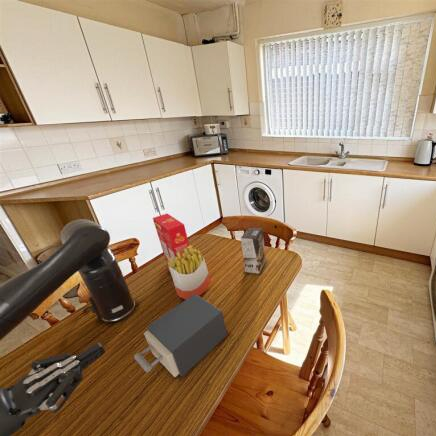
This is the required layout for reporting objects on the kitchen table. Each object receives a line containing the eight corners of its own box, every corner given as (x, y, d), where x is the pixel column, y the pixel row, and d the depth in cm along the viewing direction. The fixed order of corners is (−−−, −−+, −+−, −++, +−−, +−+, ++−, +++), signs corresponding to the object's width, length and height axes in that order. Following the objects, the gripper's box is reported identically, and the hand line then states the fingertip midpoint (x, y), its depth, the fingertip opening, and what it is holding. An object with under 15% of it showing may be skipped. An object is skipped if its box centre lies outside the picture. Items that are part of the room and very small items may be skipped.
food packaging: (198, 281, 92) (184, 224, 82) (185, 288, 89) (168, 229, 78) (182, 266, 102) (167, 213, 91) (169, 272, 98) (152, 217, 88)
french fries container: (212, 286, 90) (203, 246, 82) (187, 305, 81) (174, 262, 74) (204, 282, 92) (194, 242, 84) (179, 300, 83) (166, 258, 76)
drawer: (158, 393, 55) (148, 371, 52) (135, 365, 62) (125, 345, 58) (219, 337, 68) (214, 318, 65) (195, 319, 74) (190, 301, 71)
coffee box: (259, 274, 96) (255, 239, 89) (244, 272, 97) (239, 237, 90) (266, 260, 104) (263, 228, 97) (252, 259, 105) (248, 227, 98)
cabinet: (181, 377, 59) (172, 351, 55) (156, 350, 66) (146, 326, 62) (227, 335, 70) (222, 311, 66) (201, 316, 77) (195, 293, 73)
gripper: (-20, 417, 41) (97, 343, 54) (-10, 480, 34) (122, 377, 47) (-48, 392, 38) (84, 319, 51) (-44, 455, 31) (108, 352, 43)
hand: (102, 347), depth 49 cm, fingers closed
